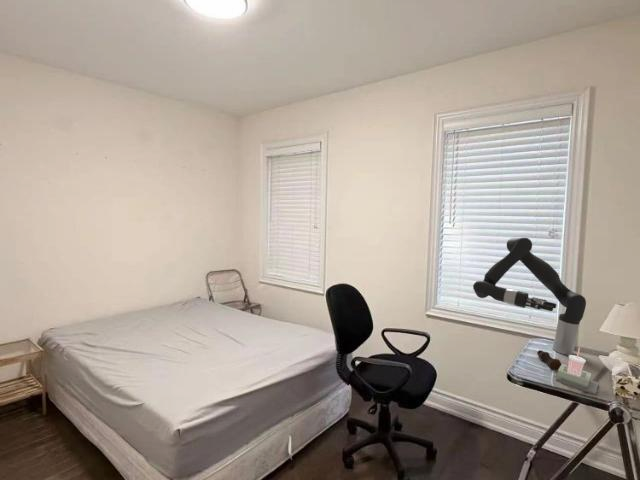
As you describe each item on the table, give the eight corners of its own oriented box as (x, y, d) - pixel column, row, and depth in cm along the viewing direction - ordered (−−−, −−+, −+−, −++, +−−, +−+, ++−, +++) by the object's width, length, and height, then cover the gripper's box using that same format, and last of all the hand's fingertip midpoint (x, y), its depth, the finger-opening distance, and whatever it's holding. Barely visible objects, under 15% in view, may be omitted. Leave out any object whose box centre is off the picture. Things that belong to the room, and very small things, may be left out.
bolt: (540, 360, 177) (556, 373, 162) (532, 354, 177) (547, 366, 162) (548, 351, 176) (564, 364, 161) (539, 345, 176) (555, 357, 161)
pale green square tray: (560, 371, 161) (562, 362, 161) (598, 384, 152) (600, 375, 151) (555, 380, 151) (557, 371, 150) (595, 395, 141) (597, 385, 141)
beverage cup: (585, 380, 150) (591, 350, 148) (574, 380, 148) (580, 350, 147) (572, 373, 156) (578, 344, 154) (561, 373, 154) (567, 344, 153)
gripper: (513, 292, 164) (553, 302, 153) (520, 289, 174) (558, 297, 163) (510, 307, 164) (550, 318, 154) (518, 303, 175) (555, 312, 164)
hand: (554, 307), depth 158 cm, fingers open, 8 cm apart
